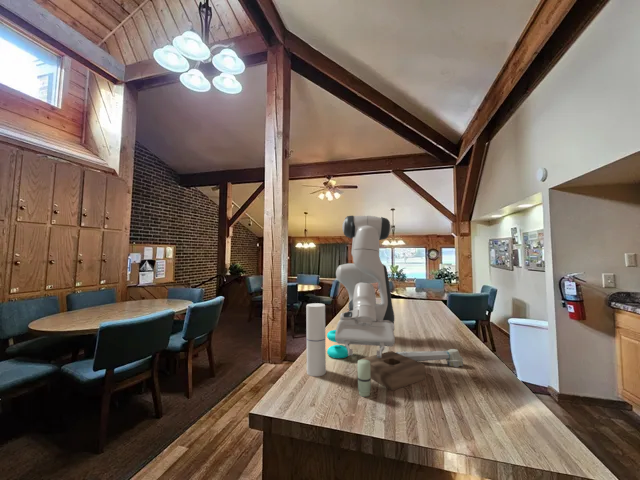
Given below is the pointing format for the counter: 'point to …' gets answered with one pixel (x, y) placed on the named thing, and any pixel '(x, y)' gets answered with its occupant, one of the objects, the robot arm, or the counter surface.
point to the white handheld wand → (436, 356)
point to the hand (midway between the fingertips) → (364, 356)
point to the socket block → (395, 370)
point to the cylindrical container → (315, 339)
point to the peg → (364, 378)
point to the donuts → (336, 347)
